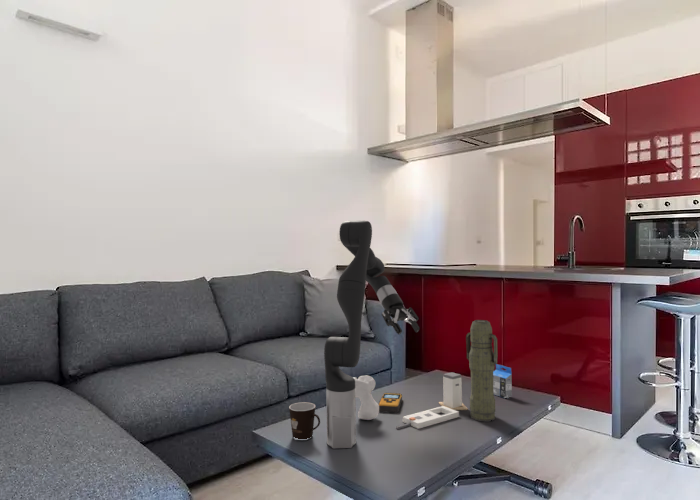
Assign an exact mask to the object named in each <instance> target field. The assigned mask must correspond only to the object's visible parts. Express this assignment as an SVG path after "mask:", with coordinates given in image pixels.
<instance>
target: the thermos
mask: <svg viewBox="0 0 700 500" xmlns="http://www.w3.org/2000/svg"><path fill="white" fill-rule="evenodd" d="M492 343H493V344H492ZM465 345H466V346H465V348H466V349H465V350H466V359H467V360H468V362H469V363H468V365H469V367H468V368H469V370H470V397H469V410H470V418H471V419H473V420H475V421H479V422H492V421H494V420H496V413H495V412H496V398H495V395H494V390H493V372H494V371H495V366H496V364H498V357H499V356H498V354H499V353H498V338H497V336H496V334H493V327H492V325H491V322H490V321H488V320H487V319H486V320H485V319H475V320H474V321H472V323H471V325H470V332H467V334H466V335H465ZM491 420H492V421H491Z"/></svg>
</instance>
